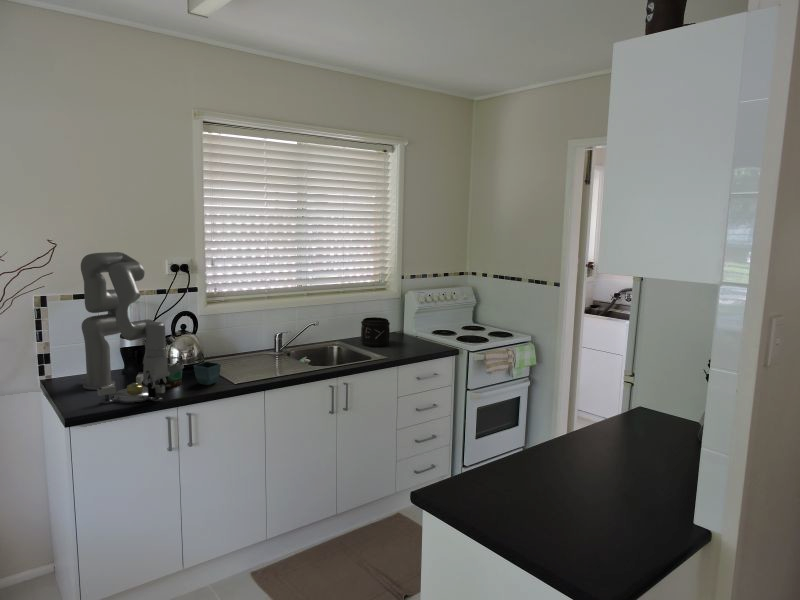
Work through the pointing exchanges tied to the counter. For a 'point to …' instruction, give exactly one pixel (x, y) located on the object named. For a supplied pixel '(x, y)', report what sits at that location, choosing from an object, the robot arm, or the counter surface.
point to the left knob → (139, 378)
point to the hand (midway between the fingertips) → (157, 394)
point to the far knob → (159, 389)
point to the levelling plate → (131, 395)
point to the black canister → (375, 332)
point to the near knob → (106, 391)
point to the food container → (175, 374)
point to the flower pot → (207, 372)
